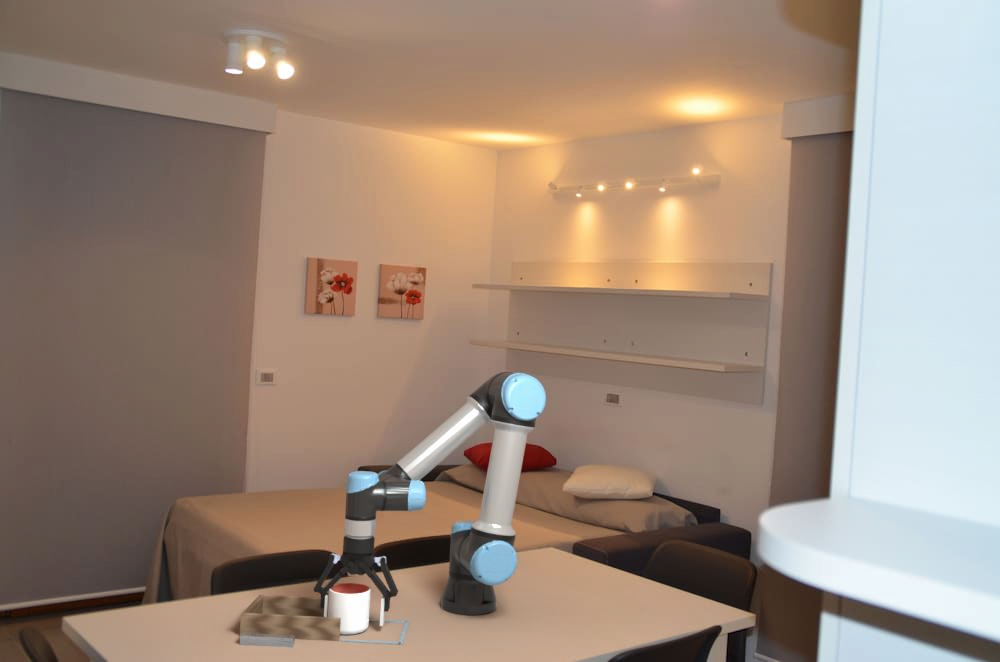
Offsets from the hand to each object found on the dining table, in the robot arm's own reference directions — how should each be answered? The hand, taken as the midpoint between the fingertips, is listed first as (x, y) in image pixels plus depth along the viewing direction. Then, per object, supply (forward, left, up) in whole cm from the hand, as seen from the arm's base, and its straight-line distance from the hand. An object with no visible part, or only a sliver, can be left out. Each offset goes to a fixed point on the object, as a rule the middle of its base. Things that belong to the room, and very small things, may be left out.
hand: (354, 623), depth 211 cm
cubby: (+14, 0, -2) cm, 14 cm away
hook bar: (+18, +13, -2) cm, 22 cm away
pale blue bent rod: (-5, 0, -2) cm, 6 cm away
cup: (+1, 0, -2) cm, 2 cm away
